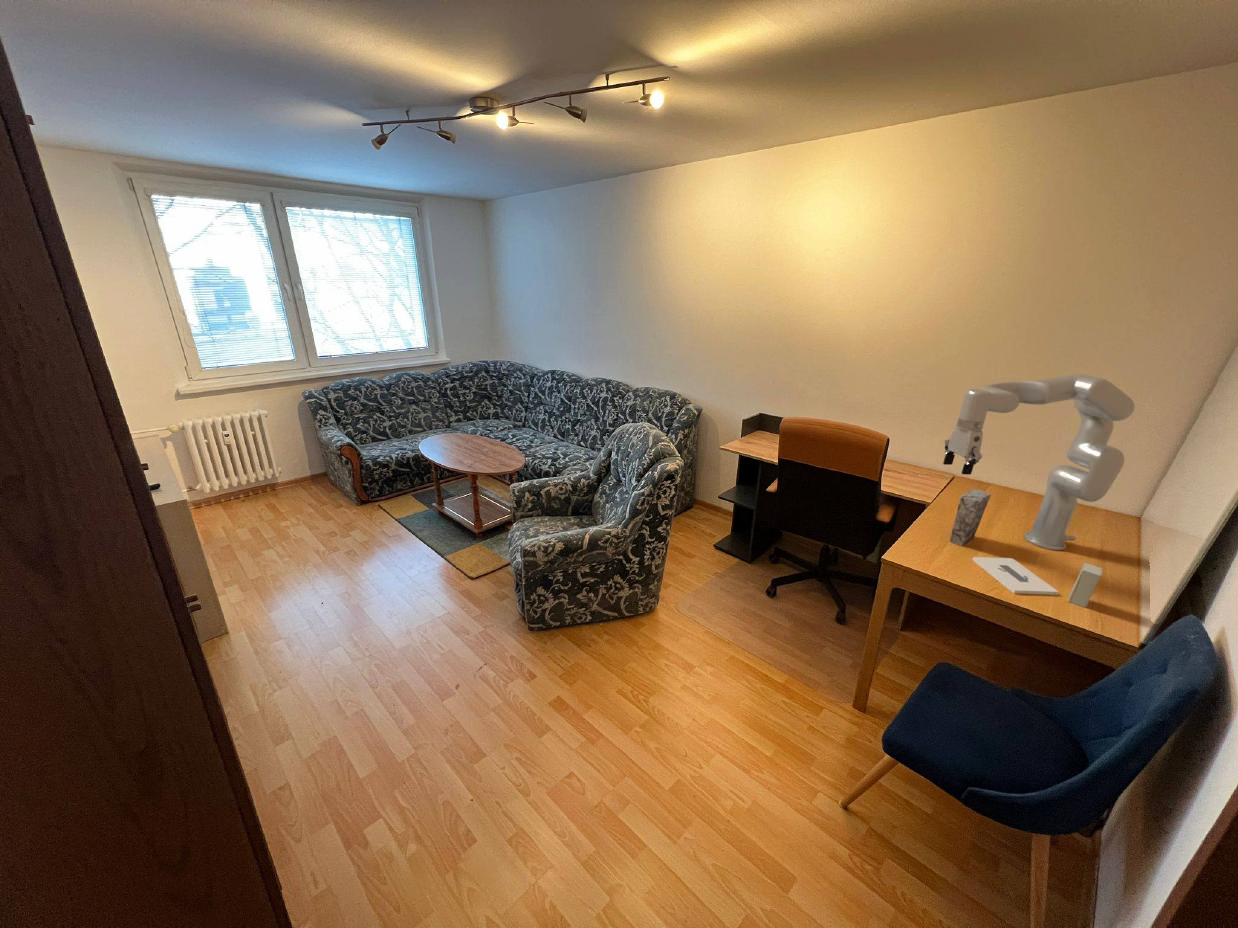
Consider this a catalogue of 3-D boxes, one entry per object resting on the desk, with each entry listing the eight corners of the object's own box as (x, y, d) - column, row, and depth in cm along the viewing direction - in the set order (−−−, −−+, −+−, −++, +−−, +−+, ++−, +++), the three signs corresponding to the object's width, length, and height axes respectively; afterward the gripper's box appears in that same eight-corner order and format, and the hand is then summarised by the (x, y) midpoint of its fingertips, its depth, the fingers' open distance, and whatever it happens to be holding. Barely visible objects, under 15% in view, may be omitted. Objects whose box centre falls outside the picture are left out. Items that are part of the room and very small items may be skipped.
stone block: (967, 548, 180) (983, 501, 173) (946, 541, 185) (961, 495, 178) (977, 537, 188) (992, 491, 181) (956, 531, 193) (970, 486, 186)
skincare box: (1069, 593, 154) (1083, 561, 150) (1088, 600, 151) (1102, 567, 147) (1067, 601, 150) (1081, 569, 146) (1086, 608, 147) (1101, 575, 143)
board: (1011, 561, 172) (1012, 558, 172) (1057, 594, 154) (1058, 591, 153) (972, 559, 172) (973, 556, 172) (1013, 593, 154) (1015, 590, 153)
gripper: (999, 431, 160) (984, 478, 166) (962, 418, 176) (950, 461, 182) (977, 431, 160) (963, 478, 166) (943, 417, 176) (931, 460, 182)
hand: (956, 469), depth 174 cm, fingers open, 9 cm apart
